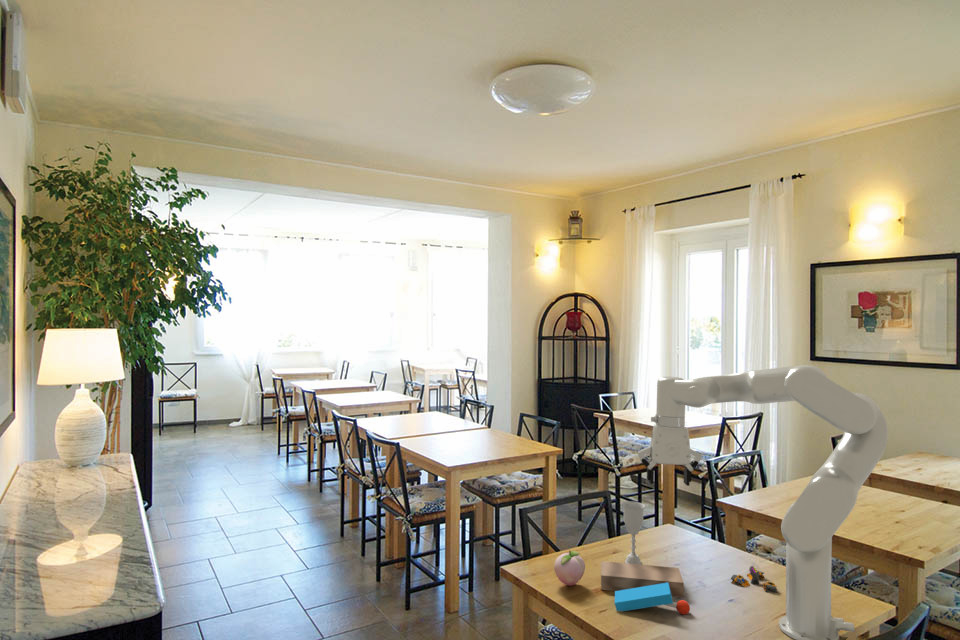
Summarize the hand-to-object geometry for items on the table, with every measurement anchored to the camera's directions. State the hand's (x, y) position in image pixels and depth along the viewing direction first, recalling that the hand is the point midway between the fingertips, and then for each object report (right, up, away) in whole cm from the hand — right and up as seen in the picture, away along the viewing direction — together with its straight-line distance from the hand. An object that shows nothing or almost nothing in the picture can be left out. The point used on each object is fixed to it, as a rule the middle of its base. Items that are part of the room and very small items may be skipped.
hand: (668, 483), depth 159 cm
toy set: (+27, -32, +6) cm, 42 cm away
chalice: (-4, -31, +21) cm, 38 cm away
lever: (-7, -31, -9) cm, 33 cm away
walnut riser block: (-6, -31, +5) cm, 32 cm away
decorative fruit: (-27, -31, +4) cm, 41 cm away
